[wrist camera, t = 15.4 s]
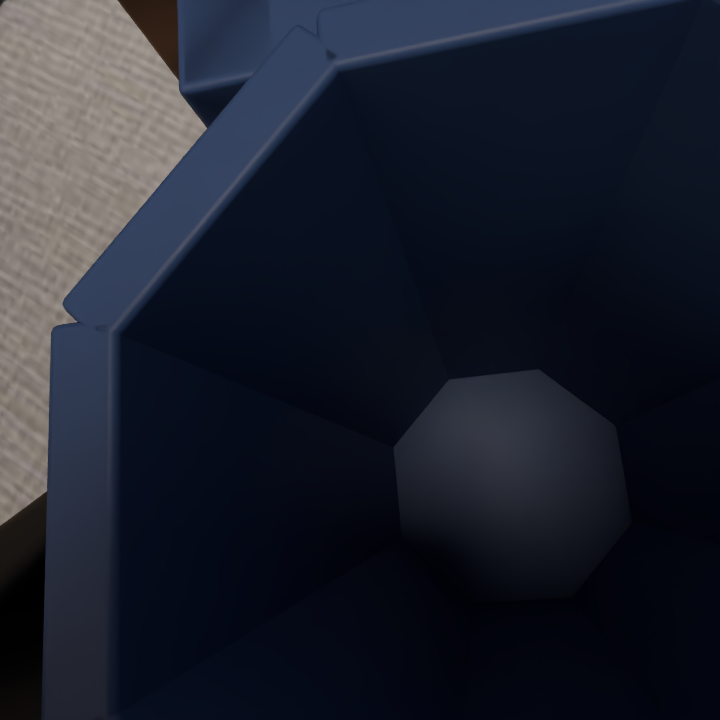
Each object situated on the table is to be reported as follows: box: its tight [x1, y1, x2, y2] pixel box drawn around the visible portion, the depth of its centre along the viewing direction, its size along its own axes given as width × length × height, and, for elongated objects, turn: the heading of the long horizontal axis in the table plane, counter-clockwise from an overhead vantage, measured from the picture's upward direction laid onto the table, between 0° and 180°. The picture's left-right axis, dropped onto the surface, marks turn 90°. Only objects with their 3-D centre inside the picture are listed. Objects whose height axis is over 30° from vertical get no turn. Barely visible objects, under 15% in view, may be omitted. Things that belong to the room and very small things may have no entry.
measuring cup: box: [41, 0, 720, 720], centre depth 10 cm, size 11×6×13 cm, turn 5°
